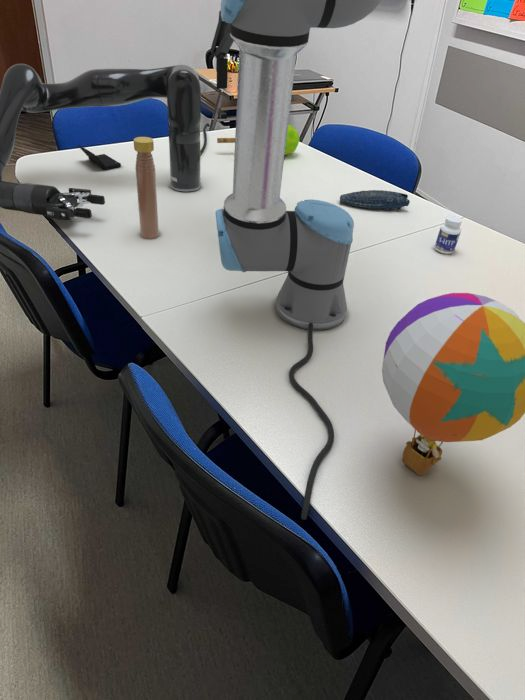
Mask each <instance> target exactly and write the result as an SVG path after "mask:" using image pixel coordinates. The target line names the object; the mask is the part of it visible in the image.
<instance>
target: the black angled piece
mask: <svg viewBox="0 0 525 700" xmlns="http://www.w3.org/2000/svg"><path fill="white" fill-rule="evenodd" d="M77 147H78V148H79V149H80V150H81V151H82V152H83V153H84V154H85V156H87V157H88V160H89V161H90V162H92V163H93V164H96V165H97V166H98V167H99V168H102V169H103V170H111V169H115V168H116V169H117V168H121V167H122V164H121V163H120V162H119V161H117V160H116V159H114V158H112V157H110V156H109V155H107V154H105V153H102V154H95V153H93V152H92V151H90V150H88V149H87V148H85V147H83V146H82V145H80V144H77Z"/></svg>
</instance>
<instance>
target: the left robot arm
mask: <svg viewBox="0 0 525 700" xmlns="http://www.w3.org/2000/svg"><path fill="white" fill-rule="evenodd" d="M158 98H160V99H161V98H162V99H163V98H164V99H166V107H167V108H166V110H167V126H168V127H167V128H168V130H167V131H168V151H169V152H168V153H169V154H168V155H169V157H168V158H169V186H170V188H171V189H172V190H174V191H176V192H177V191H178V192H183V193H184V192H185V193H188V192H189V193H191V192H196V191H198V190H200V189H201V187H202V184H201V155H202V153H203V152H204V150H205V149H206V146H207V141H208V136H207V132H206V129H207V128H208V127H210V124H209V122H207V123H206V124H204V126H203V129H202V131H203V139H204V140H203V145H202V147H201V119H202V113H201V112H202V86H201V81H200V77H199V74H198V73H197V71H196V69H194V68H192V67H191V66H189V65H186V64H176V65H171V66H163V67H156V68H148V69H147V68H142V69H141V68H93V69H89V70H87V71H84V72H82V73H80V74H79V75H77V76H75V77H74V78H72V79H70V80H68V81H65V82H58V83H56V82H55V83H54V82H53V83H44V82H43V81H42V79H41V77H40V75H39V74H38V73H37V71H36V70H35V69H34V68H33V67H32V66H30V65H28V64H25V63H15V64H13V65H12V66H10V67H9V68H8V69H6V72H5V73H4V76H3V79H2V82H1V87H0V208H1V209H4V210H9V211H15V212H23V213H26V214H32V215H40V216H45V217H47V218H49V219H53V220H59V221H66V222H70V221H71V220H72V219H76V218H82V219H92V217H93V213H92V212H93V211H92V209H90V208H84V207H83V206H84V205H87V204H92V205H93V204H94V205H101V206H104V205H105V204H106V198H105V196H104V195H99V194H92V190H91V189H85V188H76V187H68V191H67V192H61V191H60V190H59V189H58V188H57V187H56V186H54V185H48V184H47V185H46V184H40V183H39V184H38V183H32V182H31V183H30V182H15V181H5V180H3V176H4V175H3V174H4V171H5V169H6V167H7V165H8V163H9V161H10V159H11V156H12V154H13V151H14V148H15V142H16V134H17V130H18V129H17V128H18V122H19V120H20V119H19V118H20V115H21V112H22V111H23V112H25V113H30V114H38V113H46V112H51V111H58V110H66V109H77V108H78V109H79V108H94V107H96V108H97V107H100V108H103V107H120V106H127V105H130V104H134V103H137V102H141V101H144V100H148V99H158ZM63 214H64V215H63Z"/></svg>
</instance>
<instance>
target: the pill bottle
mask: <svg viewBox="0 0 525 700" xmlns="http://www.w3.org/2000/svg"><path fill="white" fill-rule="evenodd" d="M462 222H463V219H461V218H460V217H458V216H455V215H448V216H446V218H445V220H444V223H443V224H442V225H440V228H439V231H438V234H437V237H436V240H435V243H434V250H435V251H437V252H439V253H441V254H447V255H449V254H453V253H454V252H455V250H456V247H457V244H458V242H459V239H460V236H461V233H462V229H461V225H462Z"/></svg>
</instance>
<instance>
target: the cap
mask: <svg viewBox="0 0 525 700" xmlns="http://www.w3.org/2000/svg"><path fill="white" fill-rule="evenodd" d="M133 149H134V151H135V152H136V153H137V152H141V153H148V152H151V153H153V152H154V150H155V146H154V139H153V138H152V137H150V136H149V137H148V136H137V137H134V138H133Z"/></svg>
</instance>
